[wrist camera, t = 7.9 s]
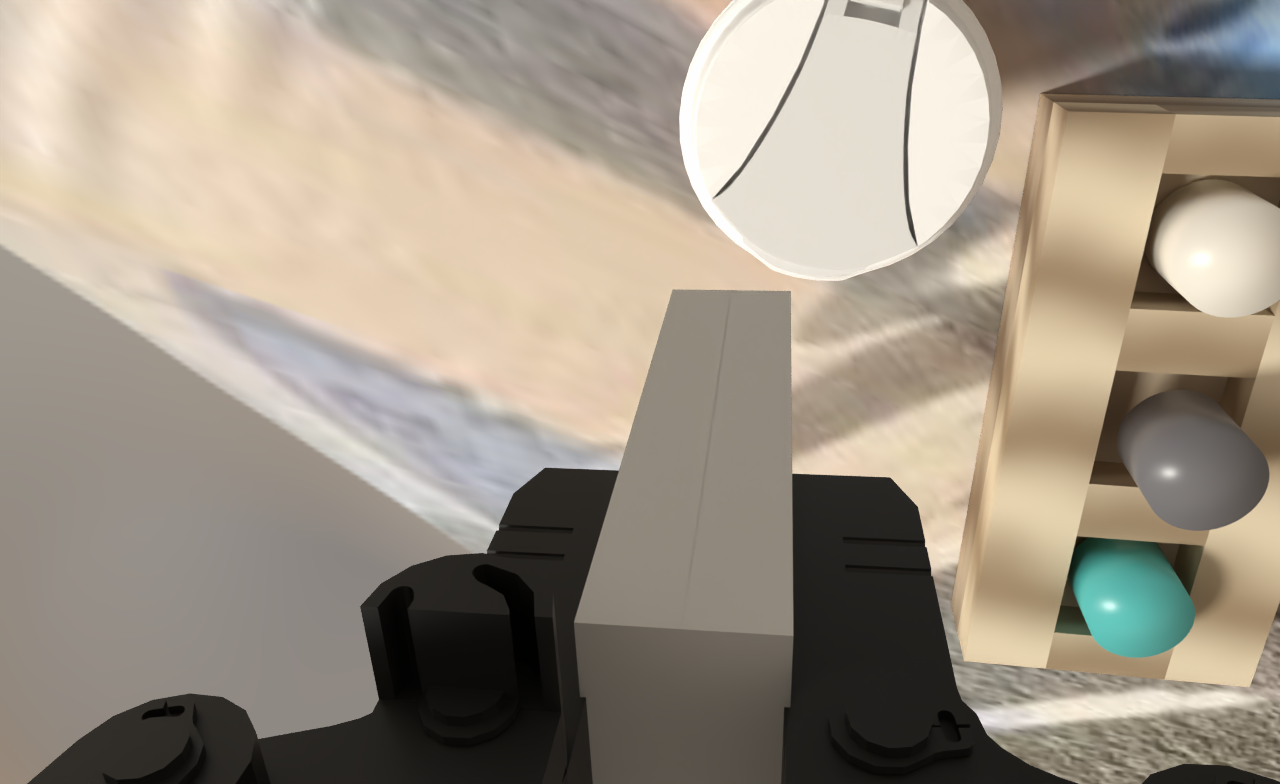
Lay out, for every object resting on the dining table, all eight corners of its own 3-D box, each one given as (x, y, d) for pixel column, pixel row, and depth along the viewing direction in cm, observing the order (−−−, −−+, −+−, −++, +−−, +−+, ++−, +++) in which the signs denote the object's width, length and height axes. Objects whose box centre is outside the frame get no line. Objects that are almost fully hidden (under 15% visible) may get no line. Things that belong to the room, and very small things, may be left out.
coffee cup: (741, -79, 36) (714, -82, 23) (961, -31, 36) (1067, -6, 22) (692, 146, 40) (644, 258, 26) (892, 191, 39) (946, 328, 26)
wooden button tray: (1040, 93, 37) (1067, 111, 33) (1383, 102, 36) (1449, 121, 32) (951, 605, 47) (964, 660, 44) (1213, 627, 46) (1249, 687, 42)
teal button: (1076, 525, 42) (1099, 573, 39) (1174, 532, 42) (1206, 582, 38) (1058, 601, 44) (1079, 652, 41) (1152, 608, 43) (1181, 662, 40)
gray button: (1129, 386, 37) (1160, 429, 34) (1241, 393, 37) (1283, 436, 33) (1106, 477, 39) (1134, 526, 36) (1213, 485, 38) (1251, 534, 35)
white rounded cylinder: (1157, 177, 36) (1193, 201, 32) (1275, 181, 35) (1322, 206, 32) (1133, 282, 37) (1164, 314, 34) (1244, 287, 37) (1287, 320, 34)
